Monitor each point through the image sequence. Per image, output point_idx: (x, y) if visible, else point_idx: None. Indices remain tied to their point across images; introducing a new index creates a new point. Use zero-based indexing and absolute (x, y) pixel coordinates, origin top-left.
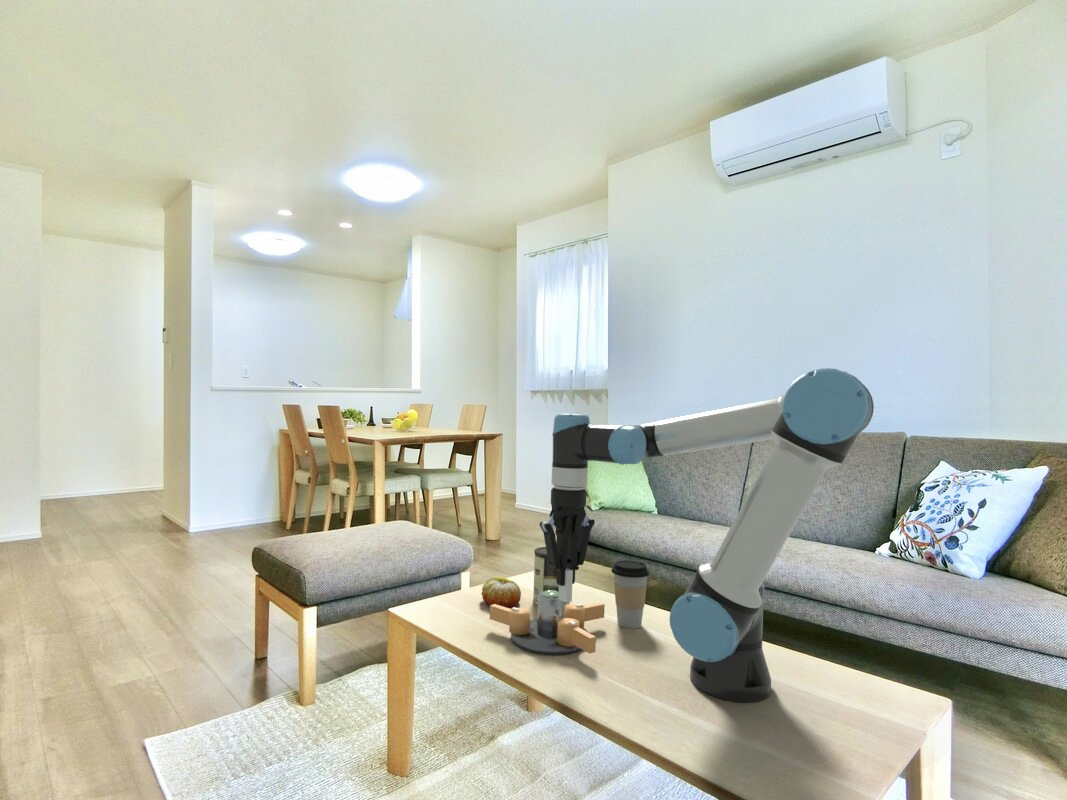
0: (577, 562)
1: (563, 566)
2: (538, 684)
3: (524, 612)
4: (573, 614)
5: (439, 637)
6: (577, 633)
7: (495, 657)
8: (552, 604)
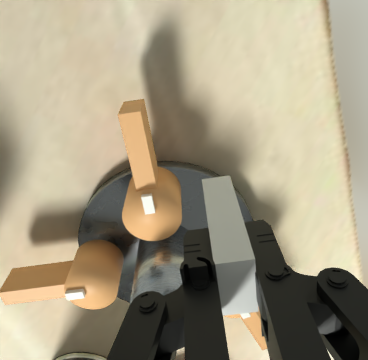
0: (170, 311)
1: (288, 279)
2: (307, 48)
3: None
4: (105, 267)
5: None
6: (152, 162)
7: (318, 197)
8: (178, 279)
